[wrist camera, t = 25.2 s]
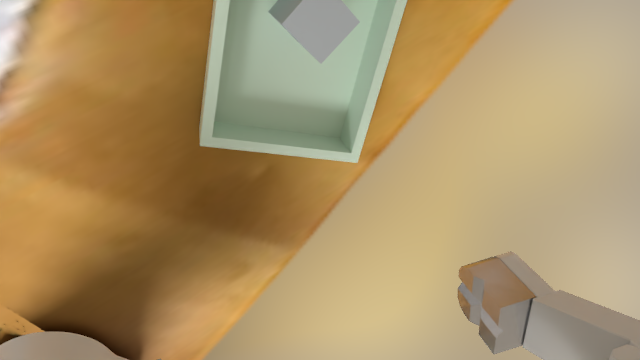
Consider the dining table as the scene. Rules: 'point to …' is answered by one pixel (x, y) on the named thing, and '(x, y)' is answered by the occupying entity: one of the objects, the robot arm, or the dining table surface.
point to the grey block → (315, 23)
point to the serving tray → (293, 82)
